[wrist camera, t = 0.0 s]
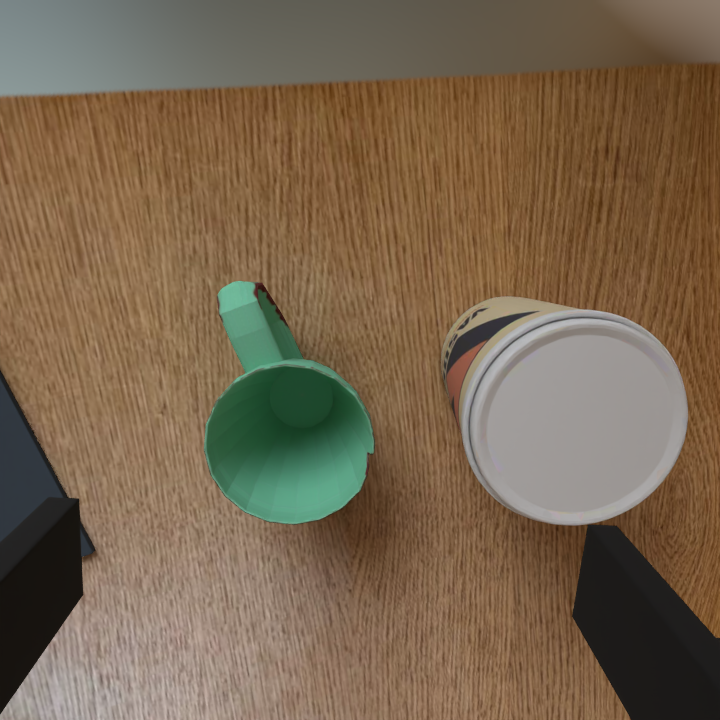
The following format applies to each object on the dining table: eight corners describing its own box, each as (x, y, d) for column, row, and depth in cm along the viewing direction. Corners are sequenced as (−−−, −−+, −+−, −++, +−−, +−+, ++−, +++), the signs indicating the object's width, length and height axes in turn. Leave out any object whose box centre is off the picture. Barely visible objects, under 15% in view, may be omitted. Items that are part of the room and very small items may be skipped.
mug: (386, 433, 37) (398, 493, 29) (264, 476, 37) (242, 546, 29) (317, 247, 34) (308, 255, 26) (186, 295, 34) (139, 317, 26)
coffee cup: (450, 264, 34) (505, 287, 23) (603, 303, 35) (732, 345, 23) (408, 414, 36) (439, 506, 25) (553, 448, 37) (649, 553, 25)
